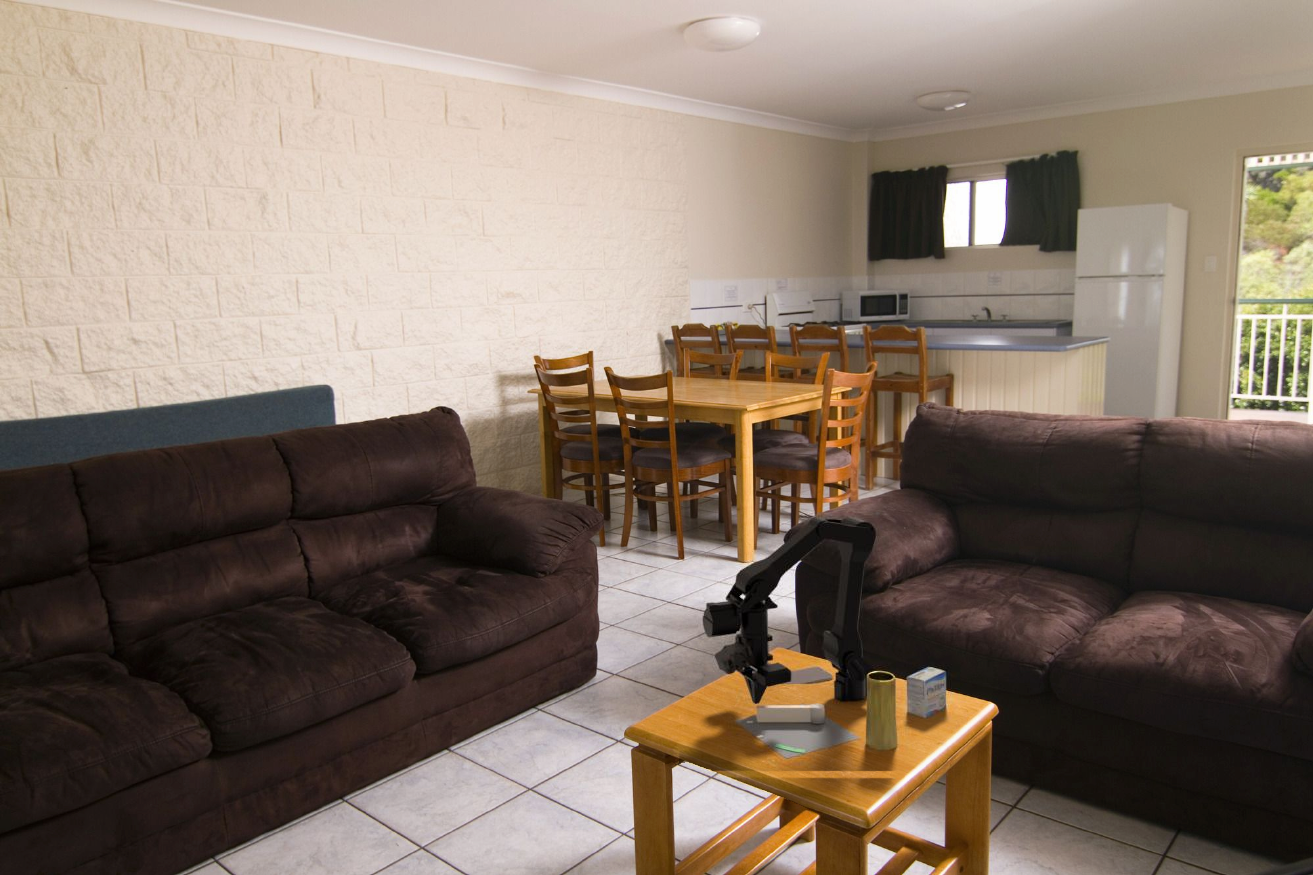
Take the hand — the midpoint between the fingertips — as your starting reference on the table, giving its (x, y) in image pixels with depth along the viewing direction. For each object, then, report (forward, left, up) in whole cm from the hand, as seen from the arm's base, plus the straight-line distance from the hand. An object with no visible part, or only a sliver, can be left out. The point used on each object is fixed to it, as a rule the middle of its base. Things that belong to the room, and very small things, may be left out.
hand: (756, 703), depth 189 cm
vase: (-13, +24, -3) cm, 27 cm away
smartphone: (-19, -13, -4) cm, 23 cm away
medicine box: (-31, +16, -3) cm, 35 cm away
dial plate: (-2, +11, -3) cm, 11 cm away
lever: (-3, +8, -2) cm, 9 cm away
